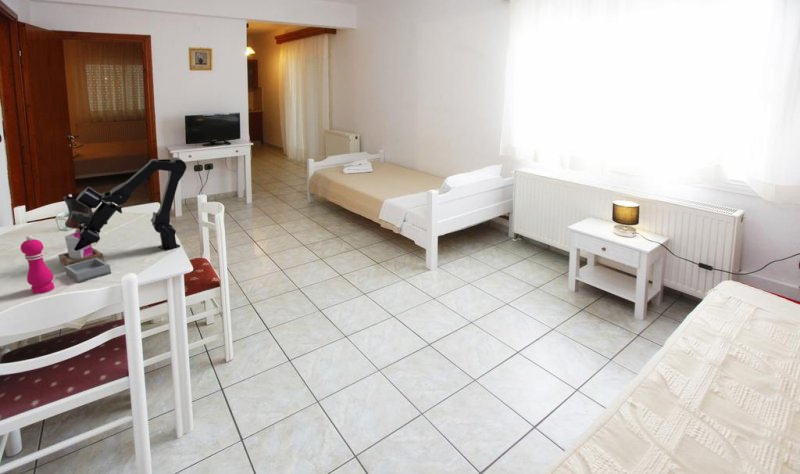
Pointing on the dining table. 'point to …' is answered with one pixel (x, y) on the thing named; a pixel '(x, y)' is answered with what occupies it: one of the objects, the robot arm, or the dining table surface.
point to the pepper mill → (37, 266)
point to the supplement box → (72, 242)
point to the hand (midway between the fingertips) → (74, 246)
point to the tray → (87, 270)
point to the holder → (67, 261)
